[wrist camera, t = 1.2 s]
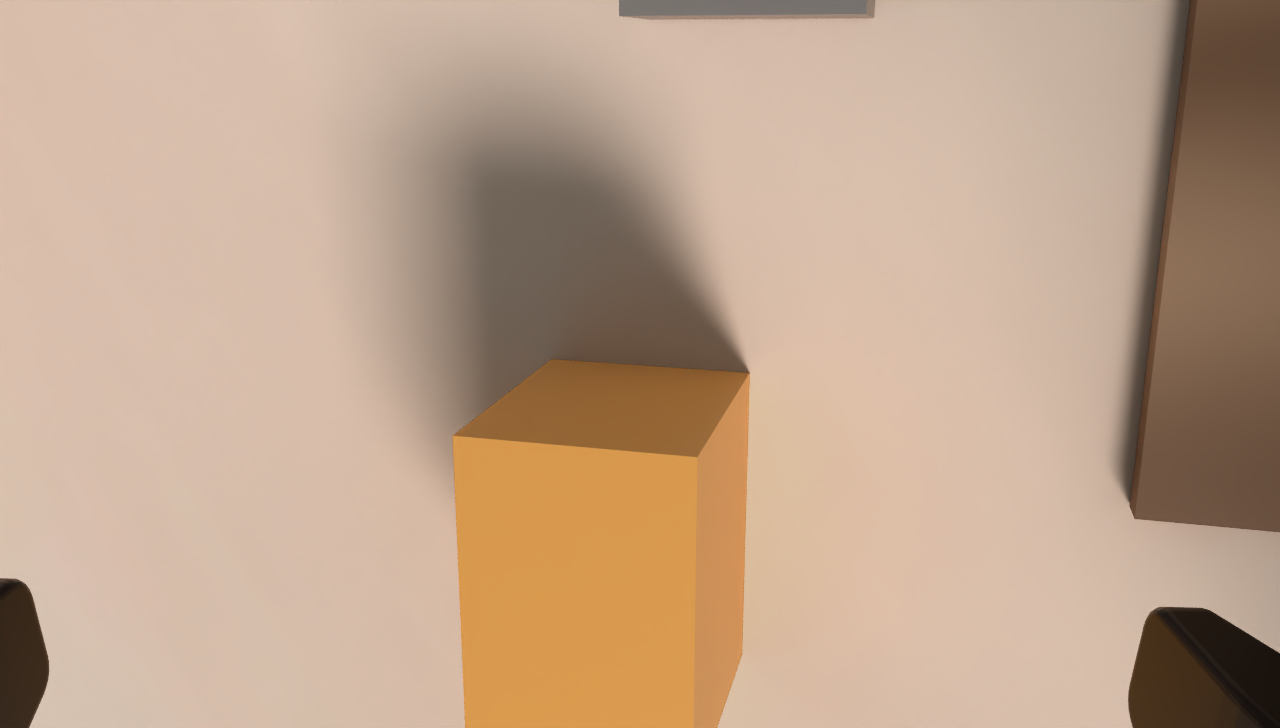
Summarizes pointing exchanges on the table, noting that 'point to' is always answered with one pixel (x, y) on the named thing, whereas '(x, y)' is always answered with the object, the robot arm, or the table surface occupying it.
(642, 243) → the table surface
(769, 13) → the cable clip
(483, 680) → the tan cardboard box
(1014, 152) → the table surface
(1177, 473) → the end holder
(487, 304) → the table surface
